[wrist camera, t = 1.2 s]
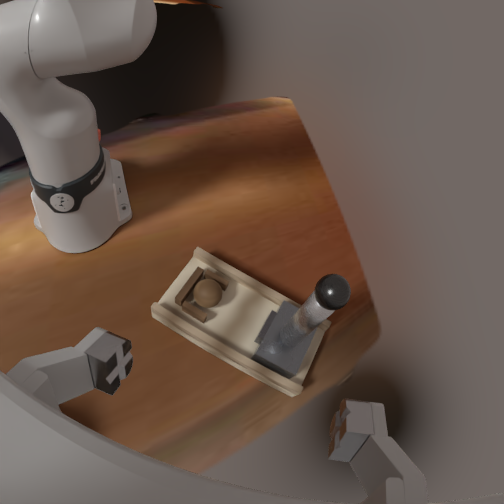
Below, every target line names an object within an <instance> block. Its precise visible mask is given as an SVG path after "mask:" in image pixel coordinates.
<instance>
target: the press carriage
mask: <svg viewBox="0 0 504 504" xmlns="http://www.w3.org/2000/svg"><path fill="white" fill-rule="evenodd" d="M350 294H351V290H350V286H349V283H348V282H347V280H346V279H345V278H344V277H342V276H340V275H337V274H328V275H325V276H324V277H322V278H321V279H320V280H319V281H318V282H317V284H316V287H315V290H314V292H313V293H312V294H311V295H310V296H309V298H308V299H307V300H306V301H305V302H304V304H303V305H302V306H301V307H300V308H298V307H296V306H294V305H292V304H290V303H289V302H287V301H285V300H284V301H283V302H282V303H281V305H280V306H279V308H278V309H277V311H276V312H275V311H273V310H272V311H271V312H270V314H269V315H268V317H267V319H266V320H265V322H264V324H263V326H262V328H261V330H260V331H259V333H258V335H257V337H256V339H255V340H254V342H256V343H257V344H259V345H258V347H257V348H256V350H255V352H254V354H253V356H252V358H251V359H252V360H254V361H256V362H257V363H259V364H261V365H263V366H265V367H267V368H269V369H270V370H272V371H274V372H276V373H278V374H280V375H282V376H284V377H286V378H288V379H290V378H292V377H294V376H295V375H296V374H297V372H298V370H299V368H300V366H301V363H302V361H303V359H304V357H305V355H306V352H307V350H308V348H309V346H310V344H311V341H312V339H313V337H314V334H315V332H316V330H317V327H318V326H319V325H320V324H321V323H322V322H323V321H324V320H325V319H326V318H328V317H329V316H330V315H331V314H332V313H333V312H334V311H335V310H338V309H340V308H342V307H343V306H345V305H346V304H347V302H348V300H349V298H350Z"/></svg>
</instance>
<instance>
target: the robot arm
mask: <svg viewBox="0 0 504 504" xmlns="http://www.w3.org/2000/svg"><path fill="white" fill-rule="evenodd" d="M156 21H157V14H156V8H155V5H154V2H153V0H15V1H11V2H8V3H5V4H1V5H0V112H1V113H2V114H3V115H4V116H5V117H6V119H7V120H8V121H9V123H10V124H11V125H12V127H13V128H14V130H15V132H16V134H17V135H18V138H19V140H20V142H21V145H22V148H23V151H24V153H25V156H26V159H27V162H28V164H29V175H30V181H31V184H32V187H33V188H34V189H33V192H32V193H31V198H32V202H33V205H34V208H35V211H36V216H35V219H34V224H35V227H36V228H37V229H38V230H40V231H42V232H43V233H44V234H45V235H46V237H47V239H48V241H49V242H50V243H51V244H52V245H53V246H54V247H55V248H57V249H59V250H61V251H64V252H68V253H81V252H86V251H89V250H92V249H94V248H96V247H98V246H100V245H101V244H103V243H104V242H105V241H106V240H108V239H109V238H110V237H111V235H112V234H113V233H114V232H115V230H116V229H117V228H118V227H119V226H121V225H122V224H124V223H126V222H127V221H129V220H130V219H131V218H132V211H131V206H130V202H129V198H128V193H127V188H126V184H125V179H124V174H123V169H122V165H121V162H120V161H117V160H114V159H110V153H109V151H108V150H107V149H104V148H102V147H101V145H100V143H99V141H100V136H101V134H100V130H99V129H97V121H96V112H95V109H94V106H93V104H92V103H91V101H90V100H89V99H88V97H86V95H84V94H83V93H81V92H80V91H77V90H75V89H72V88H70V87H67V86H65V85H63V84H62V83H61V82H59V81H58V80H57V79H56V78H55V77H56V76H63V75H70V74H77V73H85V72H94V71H99V70H102V69H106V68H110V67H114V66H118V65H121V64H125V63H129V62H133V61H134V60H135V59H137V58H138V57H139V56H140V55H141V54H142V53H143V51H144V50H145V49H146V48H147V46H148V44H149V43H150V41H151V39H152V37H153V34H154V31H155V28H156ZM123 209H125V210H123ZM131 348H132V345H131V341H130V340H128V339H126V338H124V337H121V336H119V335H116V334H114V333H112V332H110V331H107V330H104V329H102V328H100V327H97V328H94V329H93V330H92V331H91V332H90V333H89V334H88V335H87V336H86V337H85V338H84V339H83V340H82V341H80V342H79V343H78V344H77V345H76V346H75V347H74V348H73V347H68V348H64V349H60V350H56V351H52V352H48V353H44V354H40V355H36V356H32V357H28V358H24V359H22V360H21V361H20V362H19V363H18V364H17V365H16V366H14V367H13V368H12V369H11V370H10V371H9V372H8V373H7V374H6V375H5V374H4V373H3V372H1V371H0V504H352V503H338V502H328V501H317V500H310V499H303V498H297V497H290V496H284V495H279V494H273V493H268V492H263V491H258V490H253V489H249V488H245V487H241V486H237V485H233V484H230V483H226V482H222V481H219V480H215V479H212V478H208V477H205V476H202V475H199V474H196V473H193V472H190V471H187V470H184V469H181V468H178V467H175V466H172V465H170V464H167V463H164V462H162V461H159V460H157V459H154V458H152V457H149V456H147V455H144V454H142V453H140V452H137V451H135V450H133V449H130V448H128V447H126V446H124V445H122V444H119V443H117V442H115V441H113V440H111V439H109V438H107V437H105V436H103V435H101V434H99V433H97V432H95V431H93V430H91V429H90V428H88V427H86V426H84V425H82V424H80V423H79V422H77V421H75V420H73V419H71V418H70V417H68V416H66V415H65V414H63V413H61V410H60V408H59V404H61V403H64V402H66V401H68V400H70V399H73V398H75V397H77V396H79V395H82V394H84V393H86V392H88V391H91V390H93V389H94V388H96V389H98V390H101V391H103V392H105V393H107V394H110V395H113V394H114V393H115V391H116V390H117V389H118V388H119V386H120V380H121V379H124V378H126V377H127V376H128V374H129V373H130V371H131V368H132V364H133V356H132V355H131V353H130V352H129V351H130V350H131ZM330 437H331V438H332V441H331V443H330V444H329V454H328V459H332V460H338V461H345V462H350V465H351V467H352V469H353V470H354V472H355V474H356V475H357V478H358V479H359V481H360V483H361V485H362V486H363V488H364V490H365V492H366V493H367V495H368V497H367V498H366V499H365V500H364V501H363V502H362V503H360V504H504V493H498V494H493V495H487V496H482V497H476V498H470V499H463V500H457V501H456V500H455V501H448V502H438V503H428V495H427V487H426V479H425V476H424V475H423V474H422V473H421V472H420V470H419V469H418V468H417V467H416V466H415V464H414V463H413V462H412V461H411V460H410V459H409V457H408V456H407V455H406V454H405V453H404V451H403V450H402V449H401V448H400V447H399V446H398V444H397V443H396V442H395V441H394V440H393V439H392V437H388V434H387V426H386V418H385V410H384V405H383V404H381V403H373V402H365V401H358V400H351V399H343V400H342V402H341V404H340V411H338V412H336V413H335V415H334V417H333V420H332V423H331V427H330Z"/></svg>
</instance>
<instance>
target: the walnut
mask: <svg viewBox="0 0 504 504" xmlns="http://www.w3.org/2000/svg"><path fill="white" fill-rule="evenodd" d="M193 294H194V299H195V301H196V302H197V303H198V304H199V305H200V306H202V307H204V308H212V307H214V306H216V305H217V304H218V303H219V302H220V301H221V299H222V288H221V286H220V285H219V284H218V283H217V282H216V281H214V280H212V279H204V280H201V281H200V282H198V283H197V284H196V286H195V288H194V292H193Z"/></svg>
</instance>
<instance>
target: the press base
mask: <svg viewBox="0 0 504 504" xmlns="http://www.w3.org/2000/svg"><path fill="white" fill-rule="evenodd" d="M204 279H212V280H214V281H216V282H217V283H218V284H219V285H220V286H221V288H222V299H221V301H220V302H219V303H218V304H217V305H216V306H214V307H212V308H204V307H202V306H200V305H199V304H198V303H197V302H196V301H195V299H194V294H193V292H194V288H195V286H196V284H197V283H198V282H200V281H201V280H204ZM284 300H285V301H287V302H289V303H290V304H292V305H294V306H296V307H298V308H300V307H301V305H300V304H298V303H296V302H294V301H292V300H290V299H289V298H287V297H285V296H283V295H282V294H280V293H278V292H276V291H274V290H273V289H271V288H269V287H267V286H265V285H264V284H262V283H260V282H258V281H257V280H255V279H253V278H251V277H249V276H248V275H246V274H244V273H242V272H241V271H239V270H237V269H235V268H234V267H232V266H230V265H228V264H227V263H225V262H223V261H221V260H220V259H218V258H216V257H214V256H213V255H211V254H209V253H207V252H206V251H204V250H202V249H201V248H199V247H197V248H196V249H195V250H194V254H193V258H192V259H191V260H190V261H189V263H188V264H187V265H186V267H185V268H184V269H183V270H182V272H181V273H180V274H179V276H178V277H177V278H176V280H175V281H174V282H173V284H172V285H171V286H170V287H169V289H168V290H167V291H166V293H165V294H164V295H163V297H162V298H161V299H160V301H159V302H158V303H156V302H154V303H153V305H152V306H151V312H152V317H153V318H155V319H156V320H158V321H160V322H161V323H163V324H164V325H166V326H167V327H169V328H170V329H172V330H174V331H175V332H177V333H178V334H180V335H181V336H183V337H185V338H186V339H188V340H190V341H191V342H193V343H194V344H196V345H198V346H199V347H201V348H203V349H204V350H206V351H208V352H210V353H211V354H213V355H215V356H216V357H218V358H220V359H222V360H223V361H225V362H227V363H229V364H230V365H232V366H234V367H236V368H237V369H239V370H241V371H243V372H245V373H247V374H248V375H250V376H252V377H254V378H256V379H258V380H260V381H261V382H263V383H265V384H267V385H269V386H271V387H273V388H275V389H277V390H279V391H281V392H283V393H285V394H287V395H289V396H291V397H293V396H296V395H298V394H300V393H301V392H302V389H303V386H301V385H302V383H303V381H304V378H305V376H306V374H307V372H308V370H309V367H310V365H311V363H312V361H313V358H314V356H315V354H316V351H317V349H318V347H319V344H320V342H321V340H322V337H323V335H324V332H325V331H326V330H327V329H328V328H329V327H330V324H331V322H330V321H329V320H327V319H325V320H324V321H323V322H322V323H321V324H320V325H319V326H318V327H317V330H316V332H315V334H314V337H313V339H312V341H311V344H310V346H309V348H308V350H307V352H306V355H305V357H304V359H303V361H302V363H301V366H300V368H299V370H298V372H297V374H296V375H295V376H294V377H292V378H290V379H288V378H286V377H284V376H282V375H280V374H278V373H276V372H274V371H272V370H270V369H269V368H267V367H265V366H263V365H261V364H259V363H257V362H256V361H254V360H252V359H251V358H252V356H253V354H254V352H255V350H256V348H257V347H258V345H259V344H257V343H256V342H254V340H255V339H256V337H257V335H258V333H259V331H260V330H261V328H262V326H263V324H264V322H265V320H266V319H267V317H268V315H269V314H270V312H271V311H272V310H273V311H275V312H276V311H277V309H278V308H279V306H280V305H281V303H282V302H283V301H284Z"/></svg>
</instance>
